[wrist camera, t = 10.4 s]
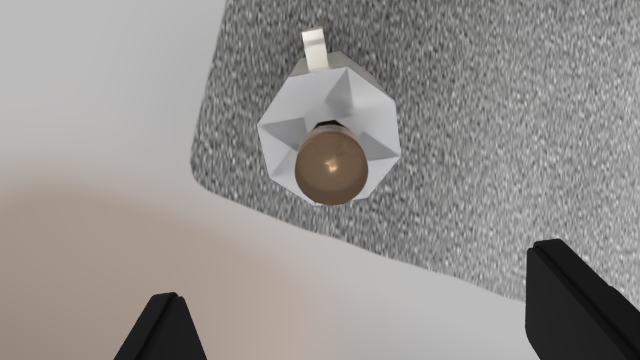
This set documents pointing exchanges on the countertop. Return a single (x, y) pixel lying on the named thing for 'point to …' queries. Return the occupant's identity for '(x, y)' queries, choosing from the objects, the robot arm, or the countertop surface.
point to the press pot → (328, 113)
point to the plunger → (331, 165)
